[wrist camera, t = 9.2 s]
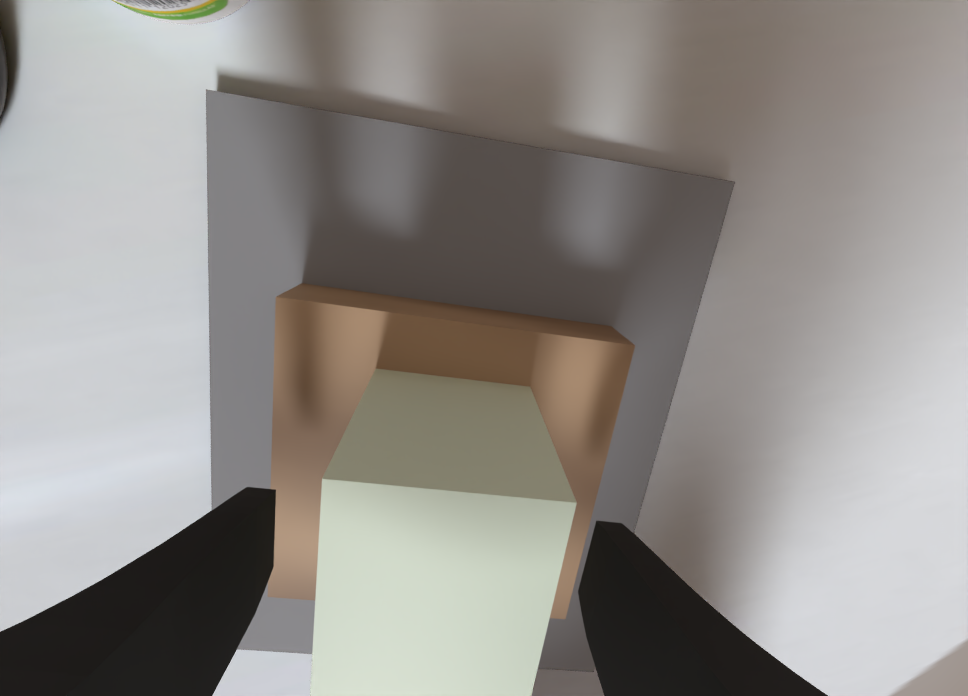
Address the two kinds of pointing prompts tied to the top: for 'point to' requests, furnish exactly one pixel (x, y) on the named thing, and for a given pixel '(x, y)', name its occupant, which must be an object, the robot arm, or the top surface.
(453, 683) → the sage brick
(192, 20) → the supplement bottle
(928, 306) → the top surface
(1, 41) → the supplement bottle
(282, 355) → the walnut base brick
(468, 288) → the grey mat
